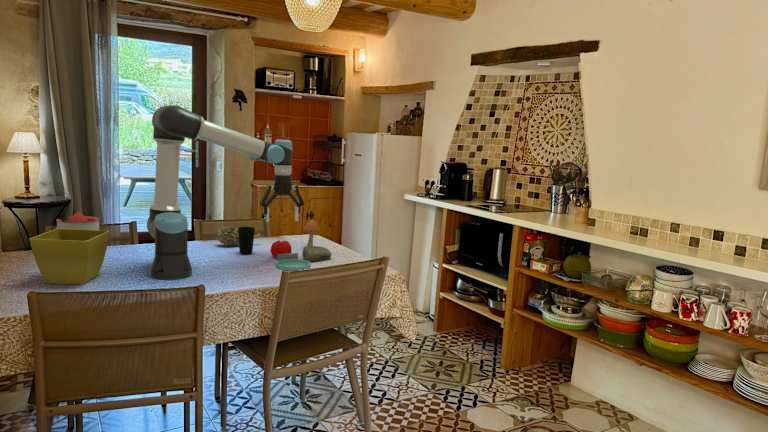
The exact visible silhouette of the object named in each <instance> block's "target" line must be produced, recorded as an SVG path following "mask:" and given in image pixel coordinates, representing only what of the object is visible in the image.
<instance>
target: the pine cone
mask: <svg viewBox="0 0 768 432" xmlns="http://www.w3.org/2000/svg"><path fill="white" fill-rule="evenodd" d="M238 228H239V227H236V228H235V227H233V226H231V225H230V226H229V225H228V226H222V227H219V228H218V230H216V237H215V239H216V240H217V241H218V242H219V243H221V244H223V245H224V246H230V247H231V246H233V247H234V246H237V247H239V236H238ZM257 238H261V233H260V232H259V233H257V234H254V239H257Z"/></svg>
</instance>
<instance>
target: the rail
mask: <svg viewBox="0 0 768 432" xmlns="http://www.w3.org/2000/svg"><path fill="white" fill-rule="evenodd" d="M284 259H299V253H298V252H291V253H288V254H278V258H277V261H280V260H284Z"/></svg>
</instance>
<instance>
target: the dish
mask: <svg viewBox="0 0 768 432" xmlns="http://www.w3.org/2000/svg"><path fill="white" fill-rule="evenodd" d="M275 267H276V268H277V269H279V270H283V271H290V270H298V271H301V270H300V269H306V270H308V268H309V269H310V268H311V267H312V262H309V261H306V260H304V259H299V258H298V259H284V260H280V261H278V260H276V263H275Z"/></svg>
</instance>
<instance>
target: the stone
mask: <svg viewBox="0 0 768 432" xmlns="http://www.w3.org/2000/svg"><path fill="white" fill-rule="evenodd" d="M331 257H332V252H331V250H329V249H328V248H327V247H324V246H318V245H317V246H316V245H313V246H307V245H306V246H304V247H303V249H302V258H303V260H306V261H309V262H310V263H312V262H313V263H314V262H319V261H324V260H329V259H330V258H331Z"/></svg>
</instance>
